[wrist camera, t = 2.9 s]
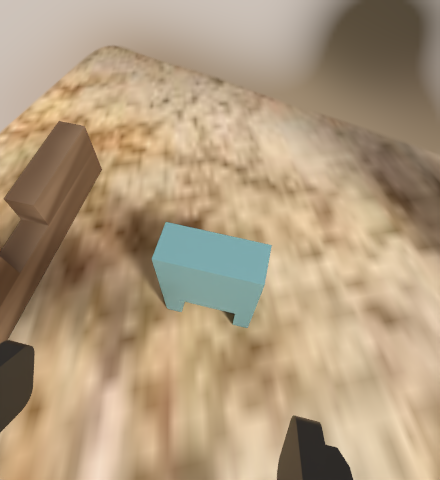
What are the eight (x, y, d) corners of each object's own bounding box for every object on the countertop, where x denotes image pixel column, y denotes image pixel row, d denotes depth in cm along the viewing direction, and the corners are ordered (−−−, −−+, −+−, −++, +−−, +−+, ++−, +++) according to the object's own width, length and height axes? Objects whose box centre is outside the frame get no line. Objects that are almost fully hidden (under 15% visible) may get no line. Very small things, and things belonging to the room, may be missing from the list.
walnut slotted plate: (101, 169, 31) (84, 126, 26) (-29, 403, 21) (-90, 395, 16) (79, 164, 31) (59, 121, 27) (-60, 394, 21) (-129, 384, 17)
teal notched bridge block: (253, 297, 25) (271, 245, 18) (247, 328, 24) (264, 285, 17) (176, 279, 26) (165, 221, 19) (167, 308, 24) (151, 259, 17)
